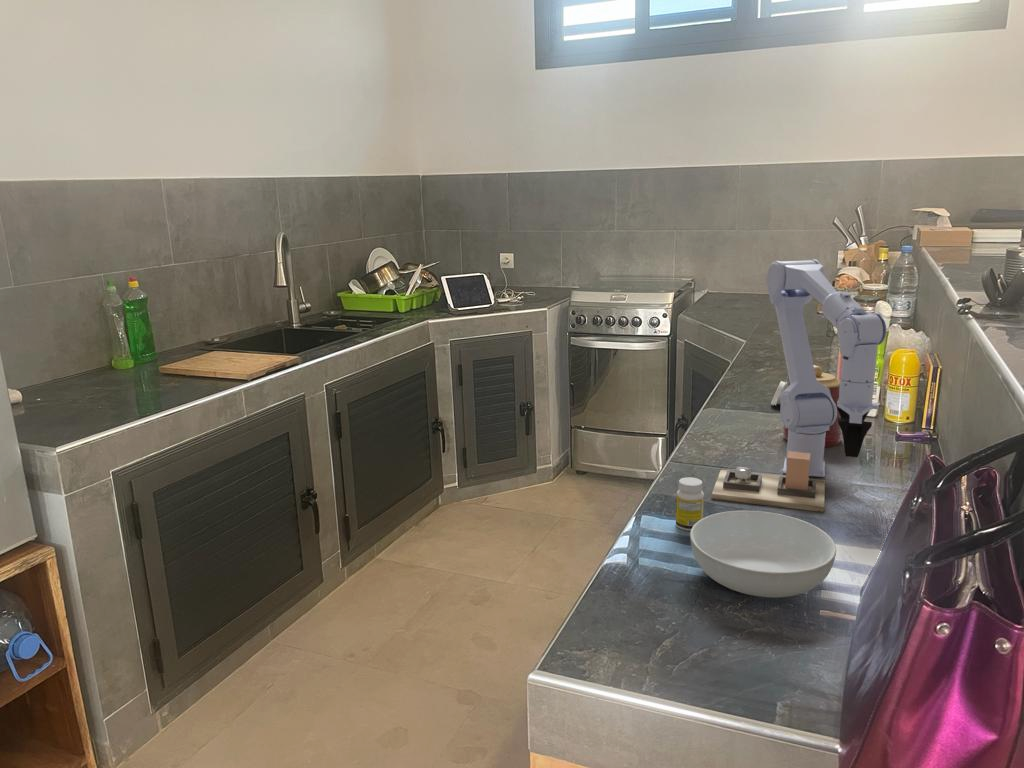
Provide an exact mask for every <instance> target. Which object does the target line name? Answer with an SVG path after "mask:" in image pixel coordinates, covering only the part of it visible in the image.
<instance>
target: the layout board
mask: <svg viewBox="0 0 1024 768" xmlns="http://www.w3.org/2000/svg"><path fill="white" fill-rule="evenodd" d="M785 482H786V475H784V476H783V475H776V474H775V475H774V474H768V473H767V474H765V473H758V472H756V473H755V472H751V484H745V483H736V482H735V470H730V469H729V470H728V469H720V471H719V473H718V477H717V478H716V481H715V484H714V487H713V490H712V492H711V499H712V500H713V499H714V500H720V501H727V502H728V501H730V502H738V503H745V504H755V505H764V506H771V507H779V508H787V509H795V510H806V511H813V512H819V511H820V512H821V513H825V498H826V497H825V493H826V492H825V487H826V486H825V485H826V482H825V480H821V479H814V478H809V481H808V490H799V489H790V488H785Z"/></svg>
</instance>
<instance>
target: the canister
mask: <svg viewBox="0 0 1024 768" xmlns="http://www.w3.org/2000/svg"><path fill="white" fill-rule="evenodd" d="M814 370H815V375H816V380H817V381H818V382H820V383H821V384H823V385H824V386H826V387H827V388H829V390H830V394H831V397H832V399H833V401H834V402H835V404H836V407H838V406H837V401H838V400H839V390H840V378H838V377H837V376H835V374H832V373H829V372H828V373H826V372H823V369H822V367H821V366H819V365H815V366H814ZM789 386H790V385H789ZM789 386H787V387H786V386H785V387H784V391H785V390H786V389H787V388H788V387H789ZM796 399H797V398H796ZM838 418H841V416H840V414H839V411H838V409H837V417H836V420H835V422H834V424H833V425H831V426H829V431H826V434H825V446H824V448H828V447H829V448H830V447H834V446H837V445H838V444H840V443H841V438H843V434H842V431H841V428H840V426H839V423H838ZM781 432H782V437H783V439H784V440H786V441H787V442H788V428H786V427H785V425H784V424H783V425H782V431H781Z"/></svg>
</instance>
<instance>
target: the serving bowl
mask: <svg viewBox="0 0 1024 768" xmlns="http://www.w3.org/2000/svg"><path fill="white" fill-rule="evenodd" d="M689 540H690V546H691V551H692V554H693V556H694V559H695V561H696V563H697V565H698V566H699V567H700V568H701V569H702V571H703V572H704V573H705V574H706V575H707V576H708V577H709V578H711V579H712V580H713V581H715V582H717V583H718V584H719V585H721V586H724V587H726V588H728V589H730V590H733V591H736V592H738V593H741V594H745V595H750V596H756V597H761V598H787V597H793V596H797V595H801V594H805V593H807V592H809V591H810V590H813V589H815V588H816V587H818V586H819V585H820V584H821V583H822V582H823V581H825V579H826V578H827V577H828V576H829V574H830V573H831V571H832V568H833V565H834V564H835V561H836V555H837V546H836V543H835V542H834V540H833V538H832V537H831V536H830V535H829V534H828V533H827V532H825V531H824V530H823V529H822V528H819V527H818V526H816V525H814V524H813V523H810V522H807V521H805V520H803V519H800V518H796V517H794V516H790V515H785V514H780V513H776V512H771V511H770V512H769V511H761V510H729V511H722V512H718V513H713V514H710V515H707V516H705V517H703V519H701V520H699V521H698V522H697V523H696V524H695V525H694V526H693V527H692V529H691V531H689Z"/></svg>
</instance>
